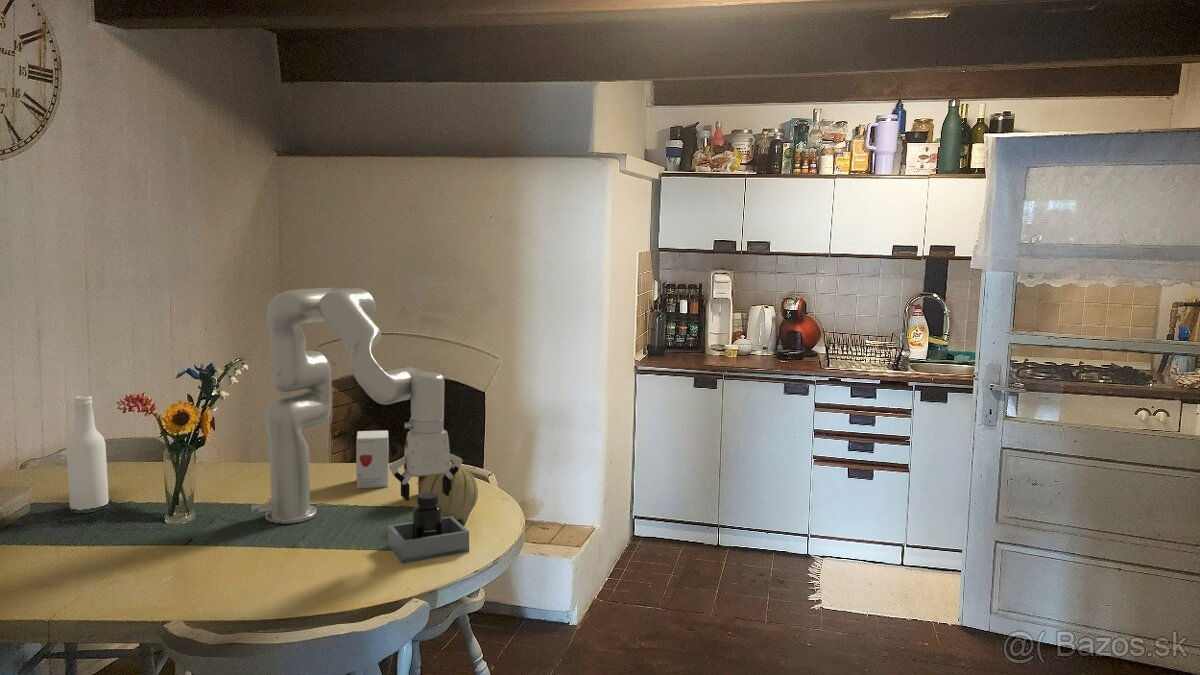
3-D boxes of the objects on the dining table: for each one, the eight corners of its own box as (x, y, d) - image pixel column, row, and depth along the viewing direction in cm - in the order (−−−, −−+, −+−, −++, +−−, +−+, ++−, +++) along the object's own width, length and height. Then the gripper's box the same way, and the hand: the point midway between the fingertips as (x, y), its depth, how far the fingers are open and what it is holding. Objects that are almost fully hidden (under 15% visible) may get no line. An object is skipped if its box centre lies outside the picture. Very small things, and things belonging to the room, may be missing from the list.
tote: (402, 563, 196) (402, 542, 196) (388, 545, 207) (387, 525, 206) (469, 552, 204) (469, 531, 203) (452, 535, 214) (452, 515, 214)
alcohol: (75, 504, 231) (68, 394, 227) (112, 502, 233) (106, 392, 229) (66, 515, 222) (58, 400, 218) (104, 512, 225) (98, 399, 221)
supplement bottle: (427, 552, 201) (427, 502, 199) (406, 545, 204) (406, 496, 203) (448, 543, 206) (448, 494, 205) (427, 537, 210) (426, 489, 209)
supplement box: (356, 489, 249) (355, 438, 247) (357, 479, 258) (356, 430, 256) (388, 487, 251) (388, 437, 249) (388, 478, 260) (388, 429, 258)
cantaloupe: (418, 530, 217) (418, 472, 215) (421, 511, 232) (421, 456, 229) (478, 528, 219) (478, 471, 217) (477, 509, 234) (477, 455, 232)
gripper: (394, 432, 194) (394, 506, 197) (468, 426, 202) (466, 497, 205) (385, 425, 201) (385, 496, 203) (457, 419, 209) (455, 487, 211)
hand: (426, 496), depth 204 cm, fingers open, 9 cm apart
